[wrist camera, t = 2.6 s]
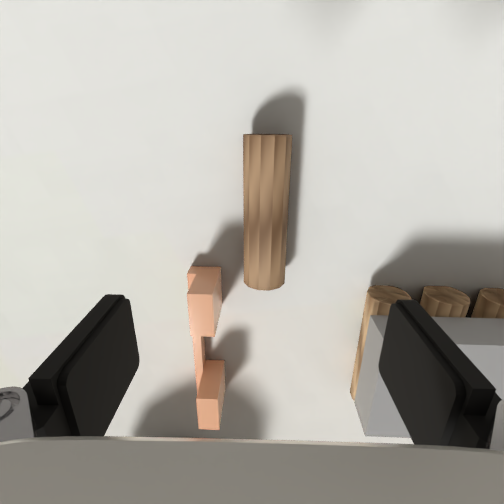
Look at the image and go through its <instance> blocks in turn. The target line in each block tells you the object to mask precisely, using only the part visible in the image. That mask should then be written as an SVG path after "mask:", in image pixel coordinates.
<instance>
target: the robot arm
mask: <svg viewBox="0 0 504 504" xmlns="http://www.w3.org/2000/svg"><path fill="white" fill-rule="evenodd" d="M138 366H139V353H138V347H137V341H136V335H135V329H134V323H133V317H132V311H131V305H130V301H129V299H125V297H124V295H110V294H108V295H105V296H104V297H103V298H102V299H101V300H100V301H99V302H98V303H97V304H96V305H95V307H94V308H93V309H92V310H91V311H90V312H89V313H88V314H87V315H86V316H85V317H84V319H83V320H82V321H81V322H80V323H79V324H78V325H77V326H76V327H75V328H74V329H73V330H72V332H71V333H70V334H69V335H68V336H67V337H66V338H65V339H64V340H63V341H62V342H61V344H60V345H59V346H58V347H57V348H56V349H55V350H54V351H53V352H52V353H51V354H50V356H49V357H48V358H47V359H46V360H45V361H44V362H43V363H42V364H41V365H40V366H39V367H38V369H37V370H36V371H35V372H34V373H33V374H32V375H31V376H30V377H29V378H28V379H29V382H28V383H27V384H26V385H25V386H24V387H23V388H20V387H6V388H1V389H0V504H504V399H503V400H502V399H501V398H500V397H499V396H498V395H497V394H496V392H495V391H496V388H495V387H494V386H493V385H492V384H491V383H490V381H489V380H488V379H487V378H486V377H485V376H484V375H483V374H482V373H481V371H480V370H479V369H478V368H477V367H476V366H475V365H474V364H473V363H472V361H471V360H470V359H469V358H468V357H467V356H466V355H465V354H464V353H463V352H462V350H461V349H460V348H459V347H458V346H457V345H456V344H455V343H454V342H453V340H452V339H451V338H450V337H449V336H448V335H447V334H446V333H445V332H444V330H443V329H442V328H441V327H440V326H439V325H438V324H437V323H436V322H435V321H434V319H433V318H432V317H431V316H430V315H429V314H428V313H427V312H426V311H425V309H424V308H423V307H422V306H421V305H420V304H419V303H418V302H417V301H416V300H399V299H398V300H397V301H396V302H395V303H393V304H391V306H390V310H389V315H388V320H387V325H386V329H385V334H384V339H383V344H382V349H381V354H380V359H379V364H378V367H379V373H380V375H381V377H382V379H383V381H384V383H385V385H386V387H387V389H388V391H389V393H390V396H391V398H392V400H393V402H394V404H395V406H396V408H397V410H398V412H399V414H400V416H401V418H402V420H403V422H404V424H405V426H406V428H407V430H408V432H409V435H410V437H411V439H412V441H413V443H414V444H392V443H360V442H329V441H295V440H258V439H218V438H171V437H118V436H104V435H105V433H106V431H107V429H108V427H109V425H110V423H111V421H112V419H113V417H114V415H115V413H116V411H117V409H118V407H119V405H120V403H121V401H122V399H123V397H124V395H125V393H126V391H127V389H128V387H129V385H130V383H131V381H132V379H133V377H134V375H135V373H136V371H137V369H138Z"/></svg>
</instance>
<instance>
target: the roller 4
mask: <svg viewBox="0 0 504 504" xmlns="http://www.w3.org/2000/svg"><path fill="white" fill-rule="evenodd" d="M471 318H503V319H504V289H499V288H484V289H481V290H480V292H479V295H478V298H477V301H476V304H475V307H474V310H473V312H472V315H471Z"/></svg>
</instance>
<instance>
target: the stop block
mask: <svg viewBox="0 0 504 504" xmlns="http://www.w3.org/2000/svg"><path fill="white" fill-rule="evenodd" d="M187 278H188V290H189V291H188V293H187V301H188V312H189V324H190V335H191V336H192V337H193V349H194V361H195V373H196V384H197V397H196V404H197V415H198V427H199V429H207V430H219V429H220V422H221V415H222V408H223V402H224V395H225V364H224V360H206V357H205V342H204V336H205V337H215V333H216V329H217V325H218V320H219V316H220V312H221V307H222V282H221V267H203V266H191V267H190V269H189V271H188V273H187Z"/></svg>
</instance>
